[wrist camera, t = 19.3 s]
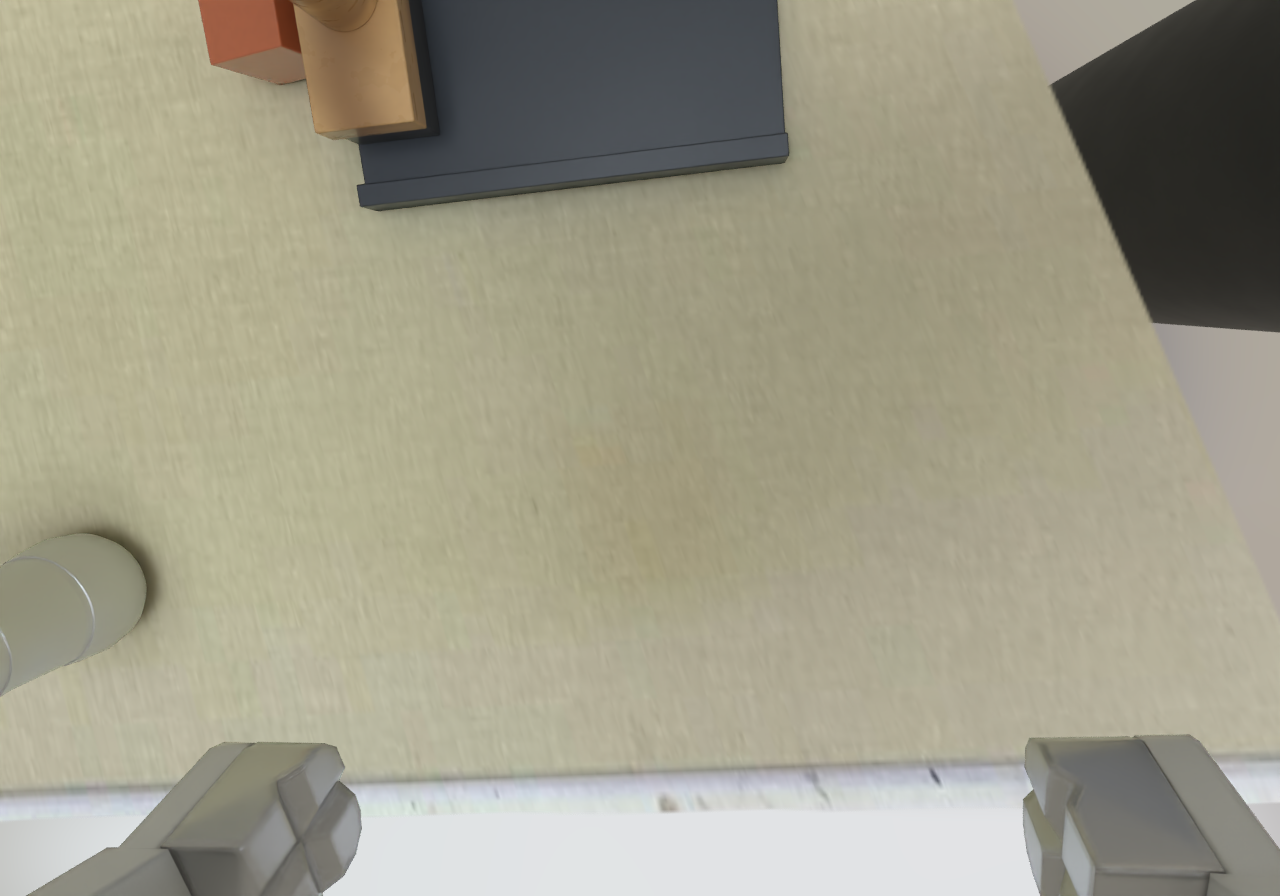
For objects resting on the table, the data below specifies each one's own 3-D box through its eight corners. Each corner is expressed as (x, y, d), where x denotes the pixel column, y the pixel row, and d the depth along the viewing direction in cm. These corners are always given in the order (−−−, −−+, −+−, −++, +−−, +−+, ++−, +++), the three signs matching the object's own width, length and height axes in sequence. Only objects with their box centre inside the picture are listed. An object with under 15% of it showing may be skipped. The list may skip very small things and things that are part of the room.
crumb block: (331, -25, 34) (262, -61, 31) (346, 69, 35) (281, 46, 31) (264, -5, 36) (190, -37, 32) (280, 85, 36) (210, 65, 33)
